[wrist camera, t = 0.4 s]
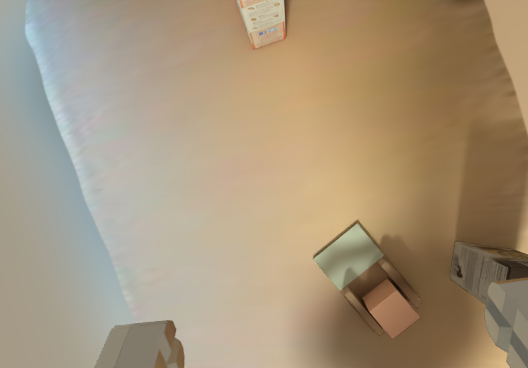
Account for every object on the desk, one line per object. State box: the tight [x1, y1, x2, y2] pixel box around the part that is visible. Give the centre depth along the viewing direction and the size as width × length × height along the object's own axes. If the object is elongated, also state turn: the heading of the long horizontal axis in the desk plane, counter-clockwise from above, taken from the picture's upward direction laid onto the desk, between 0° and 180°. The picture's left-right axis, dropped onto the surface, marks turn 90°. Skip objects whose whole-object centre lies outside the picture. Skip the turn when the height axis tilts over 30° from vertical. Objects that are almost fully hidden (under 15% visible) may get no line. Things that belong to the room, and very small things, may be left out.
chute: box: [313, 223, 421, 336], centre depth 59 cm, size 15×9×4 cm, turn 40°
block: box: [362, 279, 420, 339], centre depth 57 cm, size 5×5×6 cm
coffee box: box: [450, 241, 528, 305], centre depth 52 cm, size 9×6×16 cm
